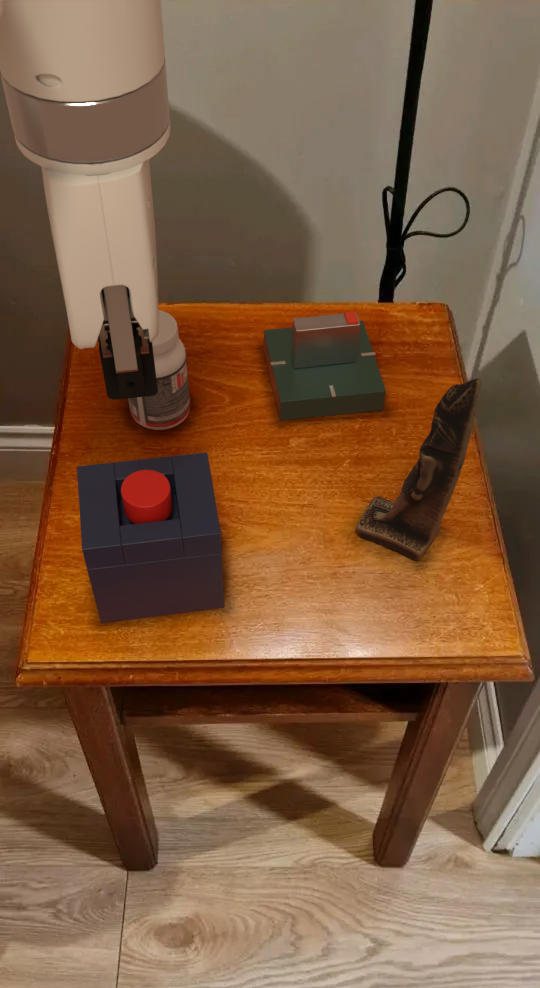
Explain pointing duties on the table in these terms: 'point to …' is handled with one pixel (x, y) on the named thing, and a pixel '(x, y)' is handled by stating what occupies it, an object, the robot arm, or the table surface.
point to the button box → (151, 541)
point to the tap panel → (322, 380)
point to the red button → (146, 497)
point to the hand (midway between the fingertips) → (132, 388)
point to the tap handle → (325, 339)
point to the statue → (426, 479)
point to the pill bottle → (165, 381)
